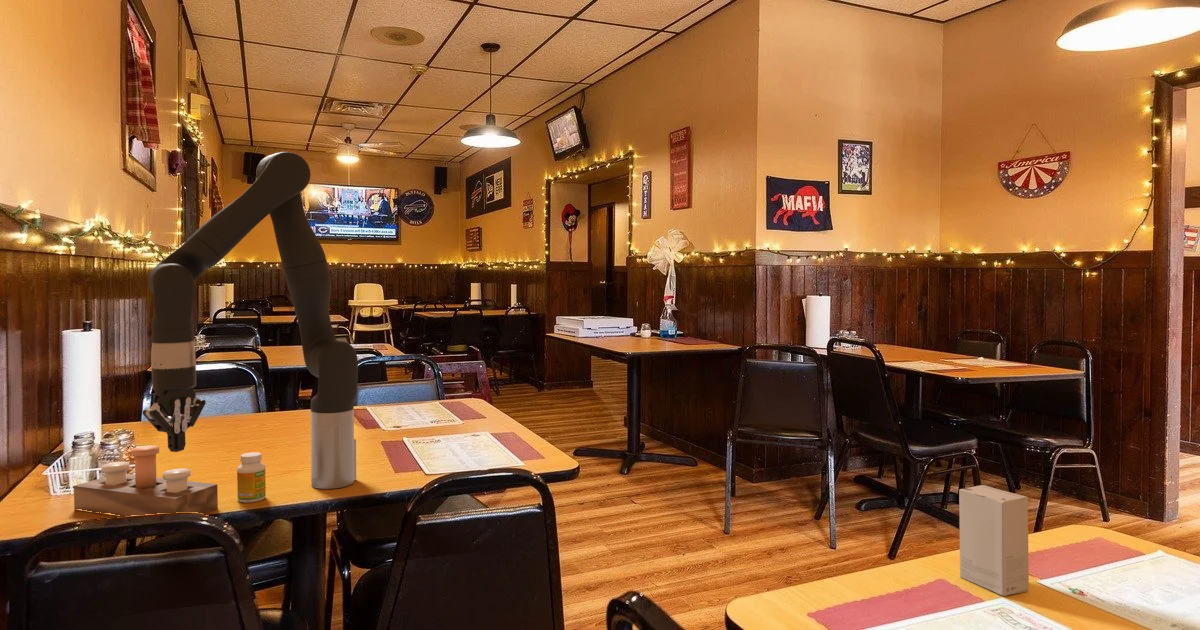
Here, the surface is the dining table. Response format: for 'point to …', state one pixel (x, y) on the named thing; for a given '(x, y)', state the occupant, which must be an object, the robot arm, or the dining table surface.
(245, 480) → the supplement bottle
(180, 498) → the walnut socket board
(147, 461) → the terracotta plug
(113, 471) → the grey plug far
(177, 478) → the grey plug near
